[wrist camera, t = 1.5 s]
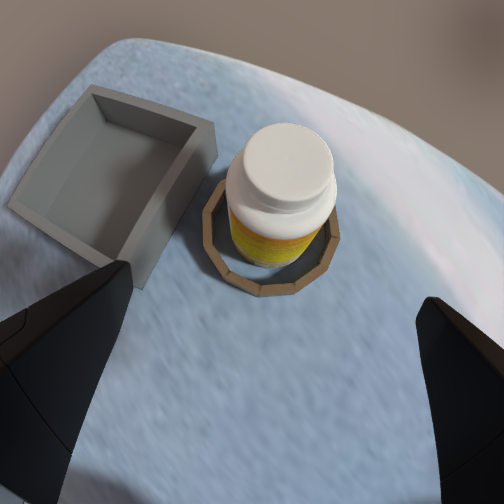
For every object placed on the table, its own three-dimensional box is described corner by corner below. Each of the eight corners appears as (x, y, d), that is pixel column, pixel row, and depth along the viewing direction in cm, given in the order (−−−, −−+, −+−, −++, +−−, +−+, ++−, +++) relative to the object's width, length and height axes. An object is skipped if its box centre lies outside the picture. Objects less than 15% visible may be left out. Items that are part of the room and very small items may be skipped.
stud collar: (302, 318, 22) (306, 317, 20) (182, 260, 22) (178, 255, 21) (349, 205, 24) (355, 198, 22) (241, 155, 25) (240, 145, 23)
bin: (142, 289, 22) (119, 279, 18) (36, 224, 23) (6, 205, 18) (218, 156, 24) (213, 122, 20) (108, 115, 25) (90, 84, 21)
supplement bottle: (314, 264, 23) (365, 214, 13) (235, 274, 22) (229, 228, 12) (301, 192, 24) (334, 106, 14) (226, 199, 24) (217, 113, 14)
